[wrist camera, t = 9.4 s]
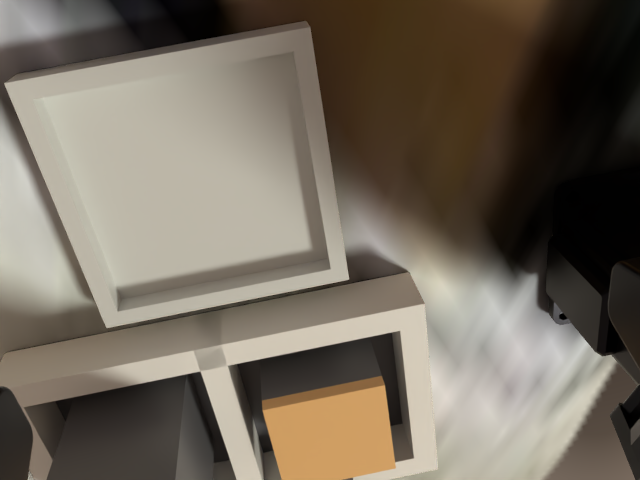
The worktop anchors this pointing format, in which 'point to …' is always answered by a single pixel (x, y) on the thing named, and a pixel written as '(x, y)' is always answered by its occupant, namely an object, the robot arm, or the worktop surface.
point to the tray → (189, 171)
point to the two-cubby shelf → (241, 370)
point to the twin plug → (327, 412)
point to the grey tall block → (136, 435)
